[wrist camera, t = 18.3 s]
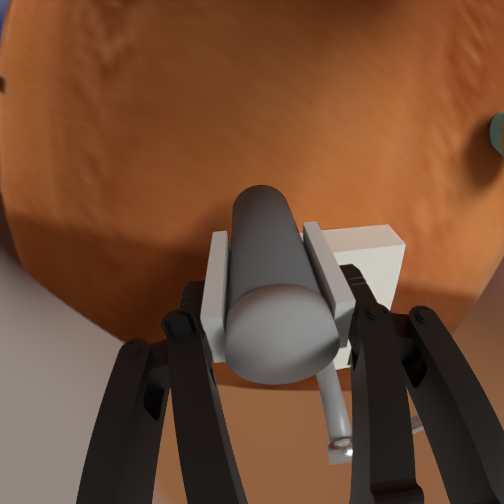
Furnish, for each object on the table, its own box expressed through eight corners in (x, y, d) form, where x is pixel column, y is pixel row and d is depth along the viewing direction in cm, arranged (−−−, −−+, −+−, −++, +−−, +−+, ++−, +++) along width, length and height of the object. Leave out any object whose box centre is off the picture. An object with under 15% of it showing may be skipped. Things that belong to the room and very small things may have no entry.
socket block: (252, 237, 27) (262, 371, 15) (387, 224, 27) (468, 327, 14) (265, 354, 37) (274, 457, 24) (364, 340, 37) (397, 432, 24)
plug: (227, 187, 19) (214, 320, 9) (288, 180, 19) (346, 304, 9) (235, 240, 22) (233, 388, 11) (290, 234, 22) (333, 376, 11)
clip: (451, 377, 22) (465, 407, 18) (446, 390, 23) (457, 418, 20) (321, 427, 24) (328, 461, 21) (325, 435, 26) (331, 466, 22)
